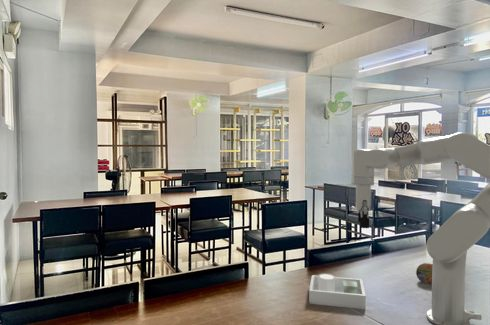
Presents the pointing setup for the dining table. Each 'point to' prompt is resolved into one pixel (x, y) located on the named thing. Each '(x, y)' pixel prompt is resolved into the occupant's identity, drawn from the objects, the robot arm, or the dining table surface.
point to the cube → (349, 287)
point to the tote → (337, 294)
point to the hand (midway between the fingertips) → (363, 225)
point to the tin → (425, 273)
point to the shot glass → (326, 282)
